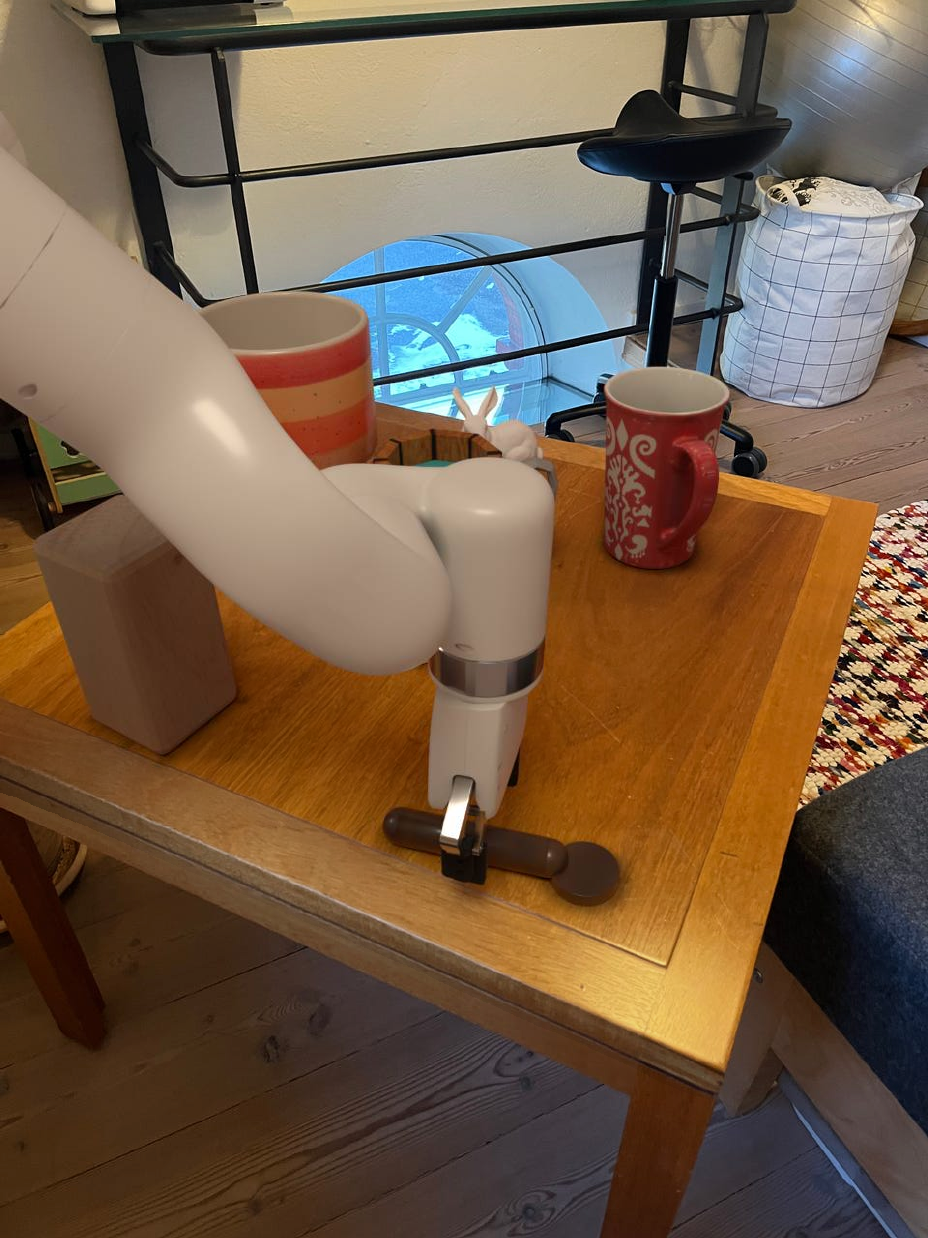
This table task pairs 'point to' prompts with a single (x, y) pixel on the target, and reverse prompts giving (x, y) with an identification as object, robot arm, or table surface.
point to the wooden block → (137, 625)
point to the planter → (307, 368)
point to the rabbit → (499, 429)
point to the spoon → (519, 854)
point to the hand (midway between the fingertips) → (481, 827)
